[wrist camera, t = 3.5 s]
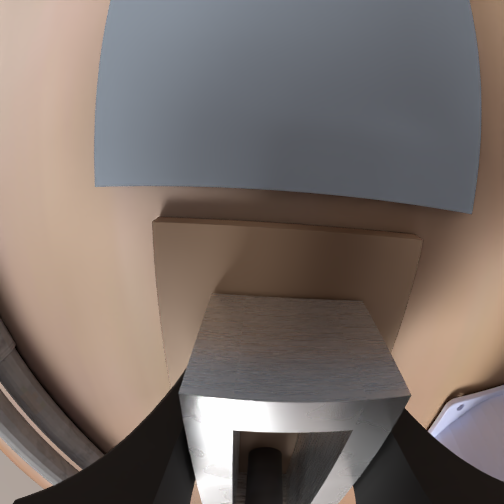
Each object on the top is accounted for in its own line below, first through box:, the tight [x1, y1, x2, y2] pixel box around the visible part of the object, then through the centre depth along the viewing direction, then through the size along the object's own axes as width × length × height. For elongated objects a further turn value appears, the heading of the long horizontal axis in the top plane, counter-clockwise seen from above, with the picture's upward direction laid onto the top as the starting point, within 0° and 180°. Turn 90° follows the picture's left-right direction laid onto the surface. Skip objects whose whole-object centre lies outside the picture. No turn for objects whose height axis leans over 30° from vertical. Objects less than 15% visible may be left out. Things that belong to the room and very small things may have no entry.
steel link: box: [178, 293, 411, 504], centre depth 9 cm, size 4×12×4 cm, turn 177°
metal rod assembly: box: [0, 318, 104, 485], centre depth 10 cm, size 26×3×5 cm, turn 19°
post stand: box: [152, 217, 423, 504], centre depth 9 cm, size 8×16×6 cm, turn 177°
